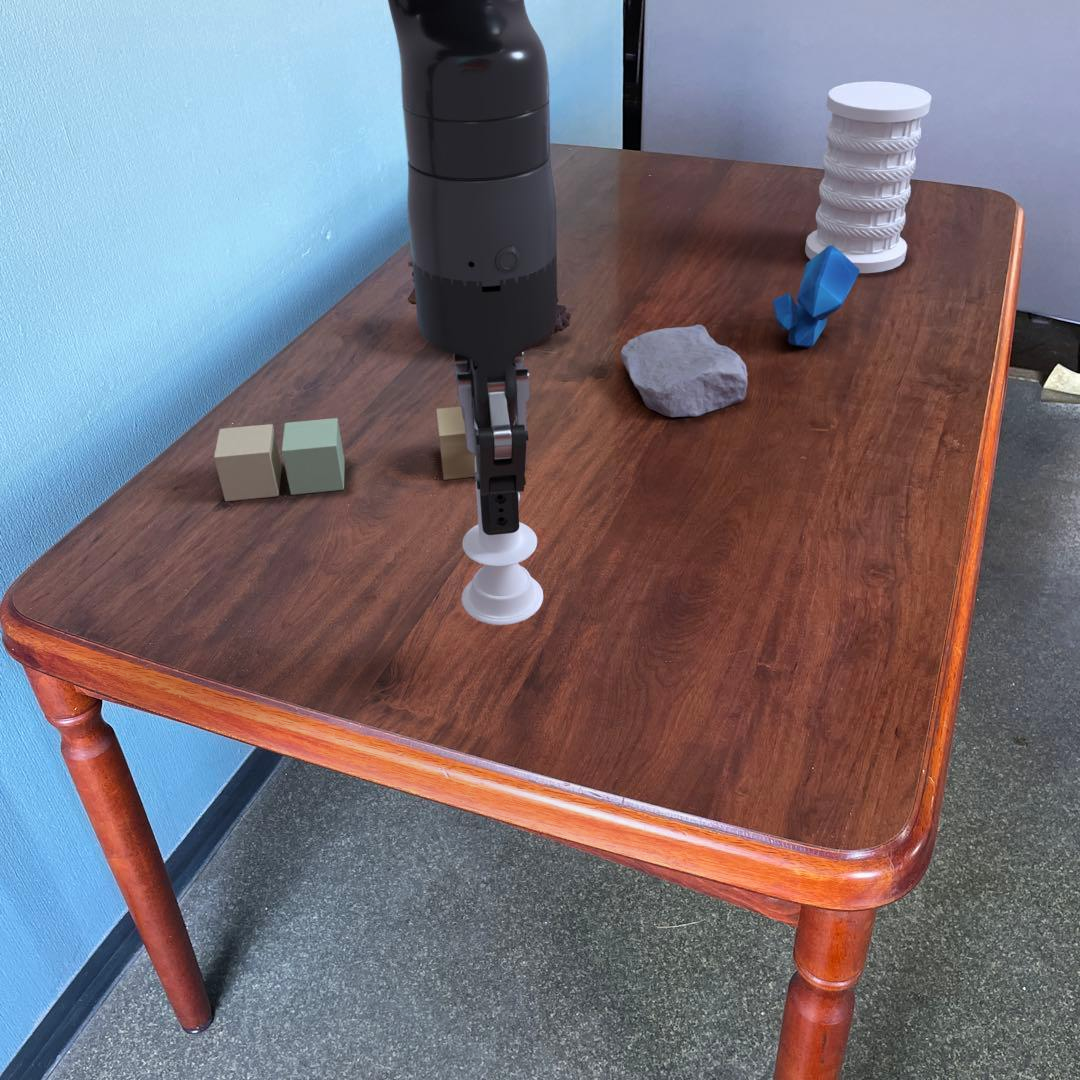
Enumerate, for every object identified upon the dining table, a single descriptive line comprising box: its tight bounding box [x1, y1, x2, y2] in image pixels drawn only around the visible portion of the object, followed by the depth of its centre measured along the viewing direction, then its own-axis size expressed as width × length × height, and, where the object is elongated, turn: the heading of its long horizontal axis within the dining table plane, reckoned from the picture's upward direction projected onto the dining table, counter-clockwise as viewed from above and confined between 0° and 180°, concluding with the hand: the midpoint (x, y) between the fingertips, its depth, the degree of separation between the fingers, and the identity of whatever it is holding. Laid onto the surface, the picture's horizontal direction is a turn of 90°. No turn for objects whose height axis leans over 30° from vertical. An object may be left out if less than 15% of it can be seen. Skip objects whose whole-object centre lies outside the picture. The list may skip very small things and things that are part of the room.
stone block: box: [620, 323, 749, 418], centre depth 103 cm, size 12×5×10 cm
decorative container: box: [804, 80, 933, 274], centre depth 122 cm, size 12×12×18 cm
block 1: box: [213, 423, 283, 502], centre depth 91 cm, size 4×4×4 cm
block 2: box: [281, 417, 346, 496], centre depth 92 cm, size 4×4×4 cm
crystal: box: [772, 245, 860, 349], centre depth 109 cm, size 7×9×12 cm
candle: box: [461, 455, 544, 626], centre depth 67 cm, size 5×5×12 cm
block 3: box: [435, 406, 475, 481], centre depth 93 cm, size 4×4×4 cm
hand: (498, 515), depth 66 cm, fingers closed on candle, 2 cm apart
